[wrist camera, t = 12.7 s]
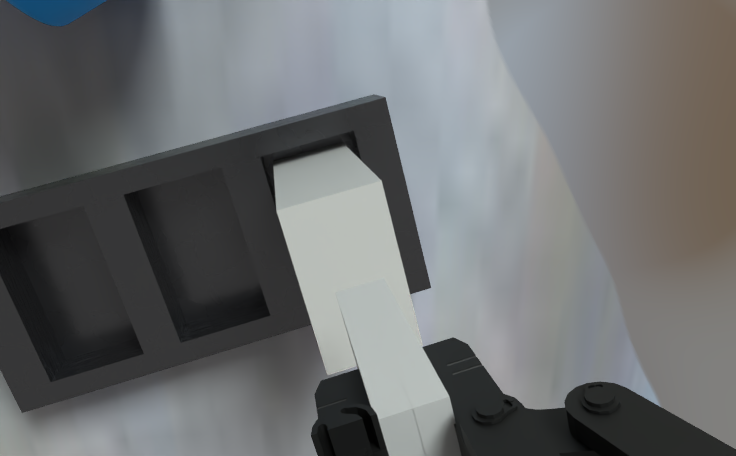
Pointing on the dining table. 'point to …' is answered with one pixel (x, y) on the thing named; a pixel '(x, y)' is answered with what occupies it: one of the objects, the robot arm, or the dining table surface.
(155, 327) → the rack
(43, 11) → the alarm clock
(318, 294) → the pale grey rectangular block
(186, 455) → the dining table surface
